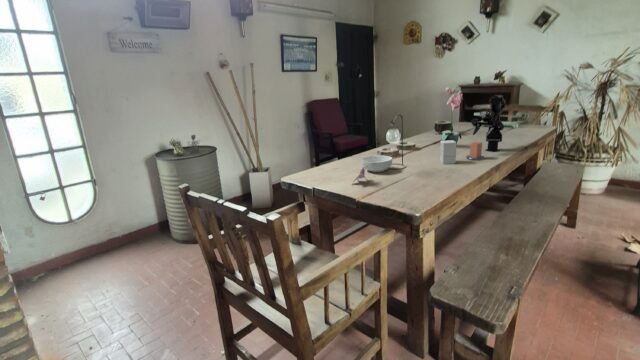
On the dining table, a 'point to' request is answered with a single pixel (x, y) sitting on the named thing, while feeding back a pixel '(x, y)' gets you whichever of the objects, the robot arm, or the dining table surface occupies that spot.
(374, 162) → the cereal bowl
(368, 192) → the dining table surface
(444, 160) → the supplement box
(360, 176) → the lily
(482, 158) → the charcoal dinner plate
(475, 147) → the upright salmon prism
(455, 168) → the dining table surface
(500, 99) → the robot arm
